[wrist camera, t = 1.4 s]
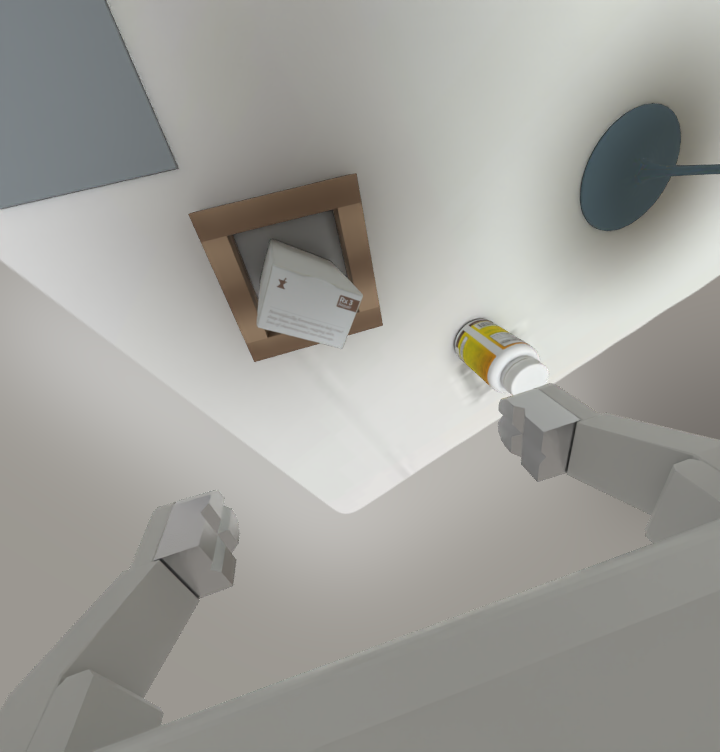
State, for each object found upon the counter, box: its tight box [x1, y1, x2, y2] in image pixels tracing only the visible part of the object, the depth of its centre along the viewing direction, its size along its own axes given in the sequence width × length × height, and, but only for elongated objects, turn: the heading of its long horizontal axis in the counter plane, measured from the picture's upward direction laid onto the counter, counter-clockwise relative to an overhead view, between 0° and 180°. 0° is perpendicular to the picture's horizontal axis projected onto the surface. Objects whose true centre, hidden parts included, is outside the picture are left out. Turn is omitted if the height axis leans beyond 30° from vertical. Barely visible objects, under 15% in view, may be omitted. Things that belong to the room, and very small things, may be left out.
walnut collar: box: [188, 174, 383, 362], centre depth 29 cm, size 13×13×3 cm
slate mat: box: [0, 0, 178, 209], centre depth 20 cm, size 13×13×1 cm
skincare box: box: [257, 239, 363, 349], centre depth 25 cm, size 6×4×12 cm
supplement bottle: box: [455, 319, 549, 395], centre depth 34 cm, size 6×6×10 cm
